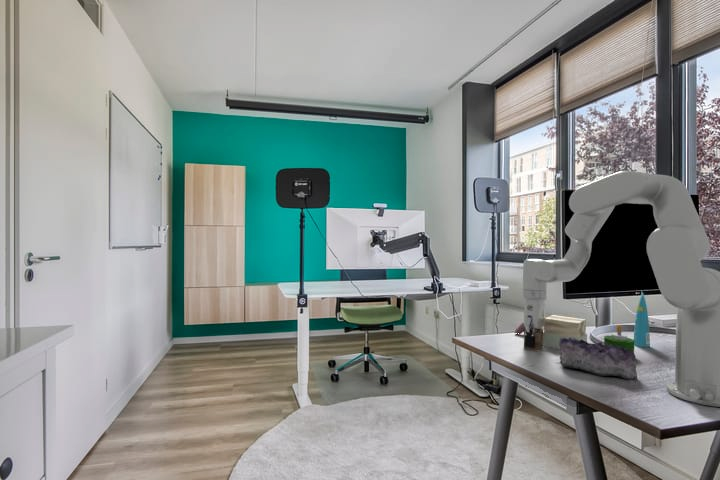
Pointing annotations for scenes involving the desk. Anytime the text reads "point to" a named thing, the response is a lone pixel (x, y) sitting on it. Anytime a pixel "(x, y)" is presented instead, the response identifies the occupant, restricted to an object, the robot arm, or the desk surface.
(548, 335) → the tower base
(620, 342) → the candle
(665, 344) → the desk surface
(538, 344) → the walnut block
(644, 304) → the tube
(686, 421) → the desk surface
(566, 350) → the geode
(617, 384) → the desk surface
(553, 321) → the cream wooden block
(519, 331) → the pink animal figurine
